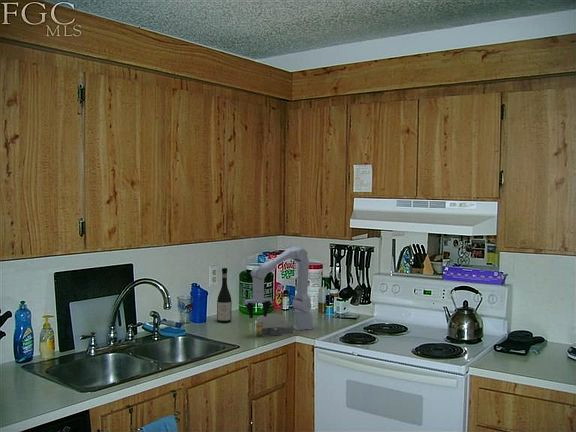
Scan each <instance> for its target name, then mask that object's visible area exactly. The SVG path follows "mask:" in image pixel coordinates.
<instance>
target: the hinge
mask: <svg viewBox="0 0 576 432" xmlns="http://www.w3.org/2000/svg"><path fill="white" fill-rule="evenodd" d="M256 323H263V326H262V328H270V327H288V324H287V318H286V316H285V315H283V314H279V313H267V316H266V317H265V316H263V314H262V315H260V316H259V315H258V316H257V318H256Z"/></svg>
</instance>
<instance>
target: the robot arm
mask: <svg viewBox="0 0 576 432" xmlns="http://www.w3.org/2000/svg"><path fill="white" fill-rule="evenodd" d="M289 259H291V260H293V261H295V263H297V265H298V268H297V286H296V287H297V289H296V294H295V295H294V296H293V300H292V308H293V309H294V324H293V325H292V327H293V329H294V330H295V331H298V330H299V331H302V330H304V331H306V329H307V330H314V315H313V311H311V310H312V302H311V297H310V296H309V294H308V287H309V286H308V284H309V266H310V260H309V257H308V251H307V250H306V249H305V248H304V247H296V246H289V247H288V248H286V249H285V250H284V251H283V252H282V253H280V254H279V255H278V256H276V257H275V258H273V259H272V258H267V259H265V261H264V262H263V263H260V264H259V265H258V266H254V267H253V268H252V269H251V271H250V272H249V273H250V275H251V276H250V277H252V298H250V299H244V305H245V307H246V308H247V311H248V315H249V318H250V319H253V317H254V315H253V314H254V307H255V306H254V304H262V307H263V309H262V311H263V314H262V315H263V316H265V317H266V316H267V314H268V311H269V309H270V307H271V305H272V303H273V298H272V297H265V278H266V277H267V275H268V274H269V273H271V272H273V271H274V270H275V269H277V266H278V265H280V264H281V263H283V262H285V261H287V260H289Z"/></svg>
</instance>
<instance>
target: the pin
mask: <svg viewBox="0 0 576 432" xmlns="http://www.w3.org/2000/svg"><path fill="white" fill-rule="evenodd" d="M254 326H255V337H257V338H261V337H263V334H262V326H263V323H257V322H256V323H255V325H254Z"/></svg>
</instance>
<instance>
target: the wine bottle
mask: <svg viewBox="0 0 576 432" xmlns="http://www.w3.org/2000/svg"><path fill="white" fill-rule="evenodd" d="M221 278H222V279H221V287H220V291H219V293H218V296H217V300H216V321H217V322H218V323H221V324H222V323H223V324H227V323H230V322H231V321H232V309H233V308H232V307H233V306H232V304H233V303H232V302H233V301H232V296H231V293H230V291H229V288H228V268H227V267H222V268H221Z"/></svg>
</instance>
